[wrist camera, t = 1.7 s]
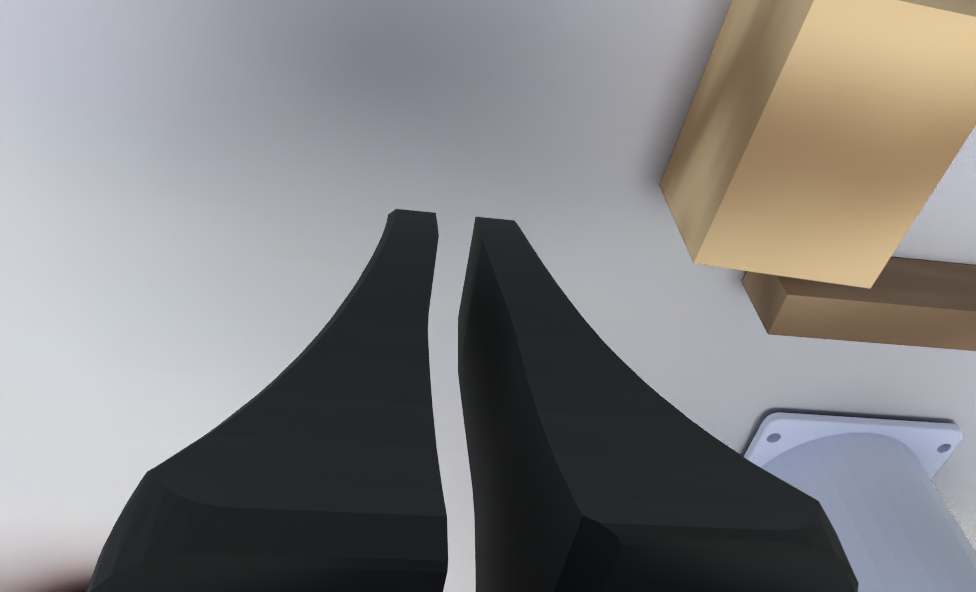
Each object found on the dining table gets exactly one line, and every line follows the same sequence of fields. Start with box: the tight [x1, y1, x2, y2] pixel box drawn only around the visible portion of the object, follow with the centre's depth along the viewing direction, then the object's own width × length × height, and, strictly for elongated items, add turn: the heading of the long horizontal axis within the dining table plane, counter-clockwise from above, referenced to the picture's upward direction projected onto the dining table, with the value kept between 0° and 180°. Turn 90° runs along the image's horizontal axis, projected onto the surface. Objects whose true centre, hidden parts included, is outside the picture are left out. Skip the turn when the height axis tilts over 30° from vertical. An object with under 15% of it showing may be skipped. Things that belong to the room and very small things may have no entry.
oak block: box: [659, 0, 976, 288], centre depth 20 cm, size 7×5×4 cm
